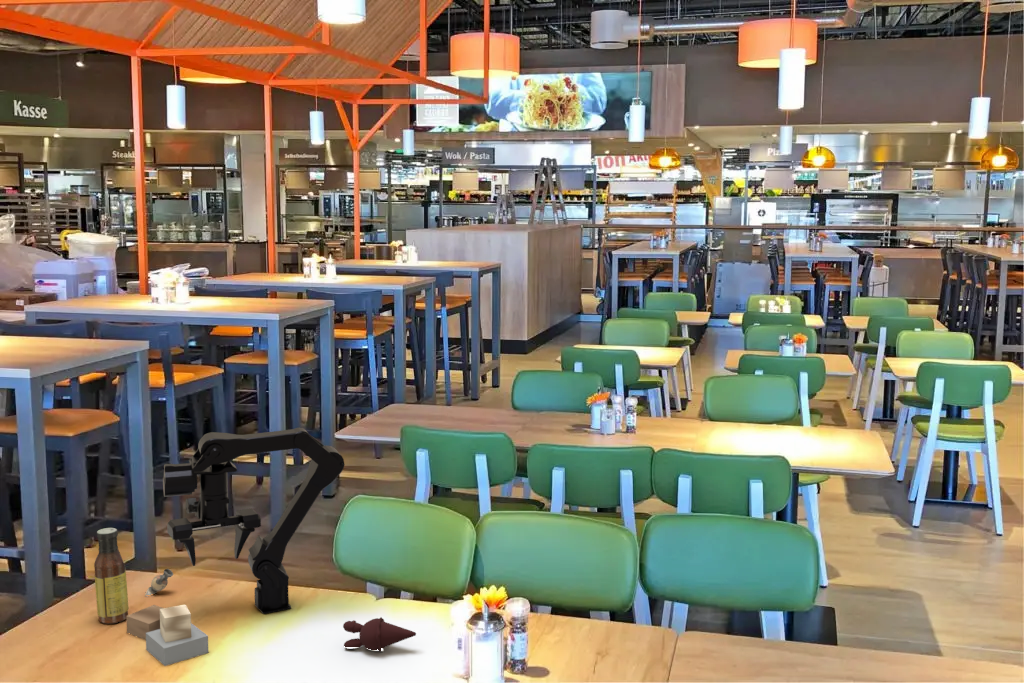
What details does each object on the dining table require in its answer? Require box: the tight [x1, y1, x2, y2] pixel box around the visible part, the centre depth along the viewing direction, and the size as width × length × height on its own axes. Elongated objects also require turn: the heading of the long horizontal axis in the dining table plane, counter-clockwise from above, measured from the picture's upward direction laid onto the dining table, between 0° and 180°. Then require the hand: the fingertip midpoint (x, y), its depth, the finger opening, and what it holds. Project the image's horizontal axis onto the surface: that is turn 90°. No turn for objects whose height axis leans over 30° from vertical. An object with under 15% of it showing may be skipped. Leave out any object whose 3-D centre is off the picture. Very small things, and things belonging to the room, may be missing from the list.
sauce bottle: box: [93, 527, 129, 625], centre depth 214 cm, size 7×6×20 cm
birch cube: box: [160, 604, 192, 642], centre depth 200 cm, size 5×5×5 cm
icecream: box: [342, 616, 417, 652], centre depth 204 cm, size 7×7×15 cm
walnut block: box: [125, 604, 163, 641], centre depth 210 cm, size 7×7×4 cm
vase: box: [144, 568, 174, 597], centre depth 229 cm, size 5×5×6 cm
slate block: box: [145, 622, 209, 667], centre depth 201 cm, size 9×9×4 cm
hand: (215, 561), depth 217 cm, fingers open, 9 cm apart
